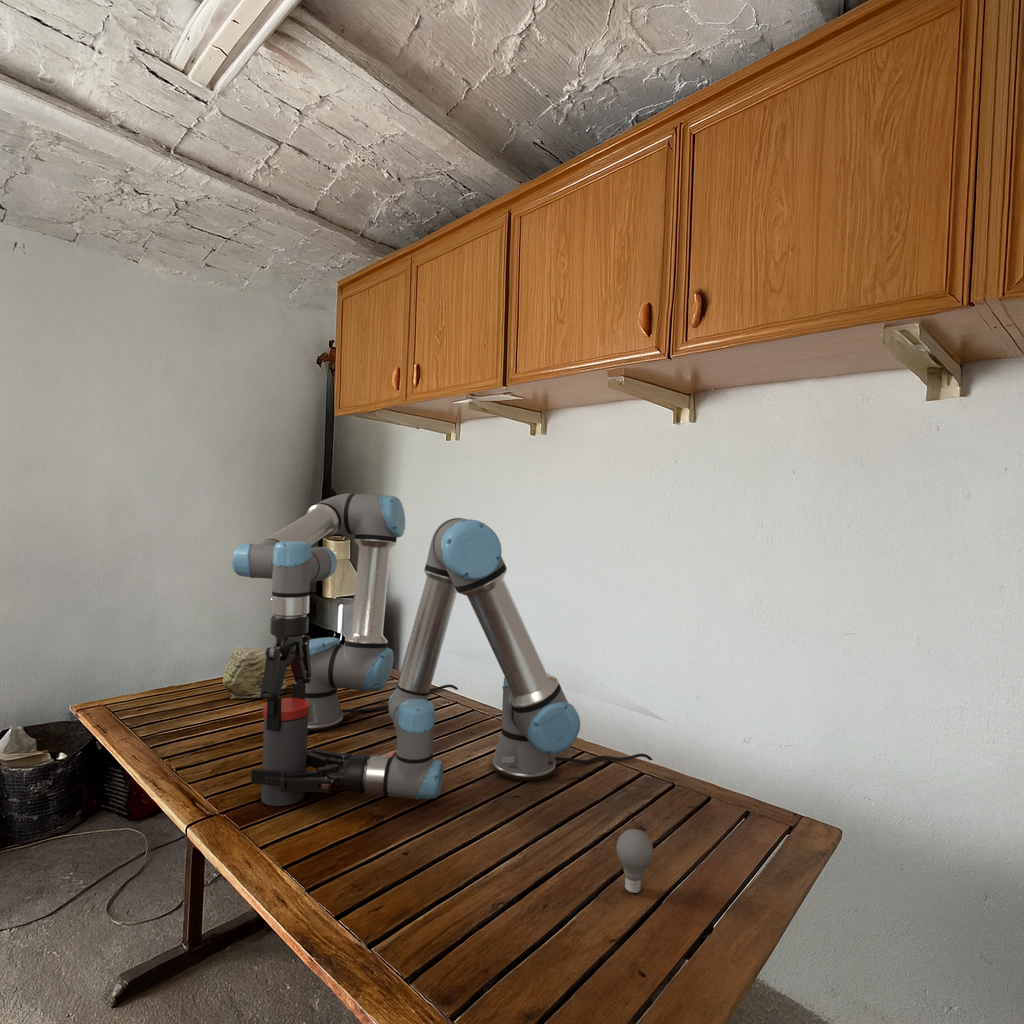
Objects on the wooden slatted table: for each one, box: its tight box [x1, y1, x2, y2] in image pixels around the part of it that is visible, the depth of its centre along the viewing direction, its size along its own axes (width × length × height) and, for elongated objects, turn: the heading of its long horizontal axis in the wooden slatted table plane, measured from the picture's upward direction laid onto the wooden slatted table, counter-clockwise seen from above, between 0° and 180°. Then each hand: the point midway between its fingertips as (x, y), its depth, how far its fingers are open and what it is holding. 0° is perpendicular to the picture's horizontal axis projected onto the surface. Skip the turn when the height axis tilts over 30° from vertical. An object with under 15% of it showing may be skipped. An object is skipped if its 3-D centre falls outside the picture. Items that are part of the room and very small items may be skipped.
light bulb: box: [615, 828, 654, 894], centre depth 106 cm, size 6×6×10 cm
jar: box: [260, 715, 309, 807], centre depth 133 cm, size 9×9×19 cm
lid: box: [262, 697, 310, 721], centre depth 133 cm, size 9×9×2 cm
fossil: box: [222, 646, 288, 699], centre depth 198 cm, size 9×18×15 cm, turn 132°
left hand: (286, 721), depth 133 cm, fingers closed on lid, 9 cm apart
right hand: (263, 766), depth 134 cm, fingers closed on jar, 9 cm apart
